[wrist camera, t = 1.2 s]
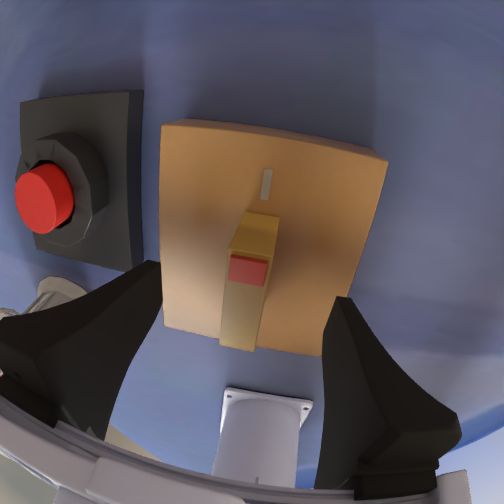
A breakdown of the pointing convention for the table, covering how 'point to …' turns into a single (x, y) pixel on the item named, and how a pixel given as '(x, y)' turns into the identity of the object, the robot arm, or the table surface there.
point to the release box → (90, 172)
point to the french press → (50, 299)
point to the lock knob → (247, 279)
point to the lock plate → (267, 203)
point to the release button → (44, 197)
